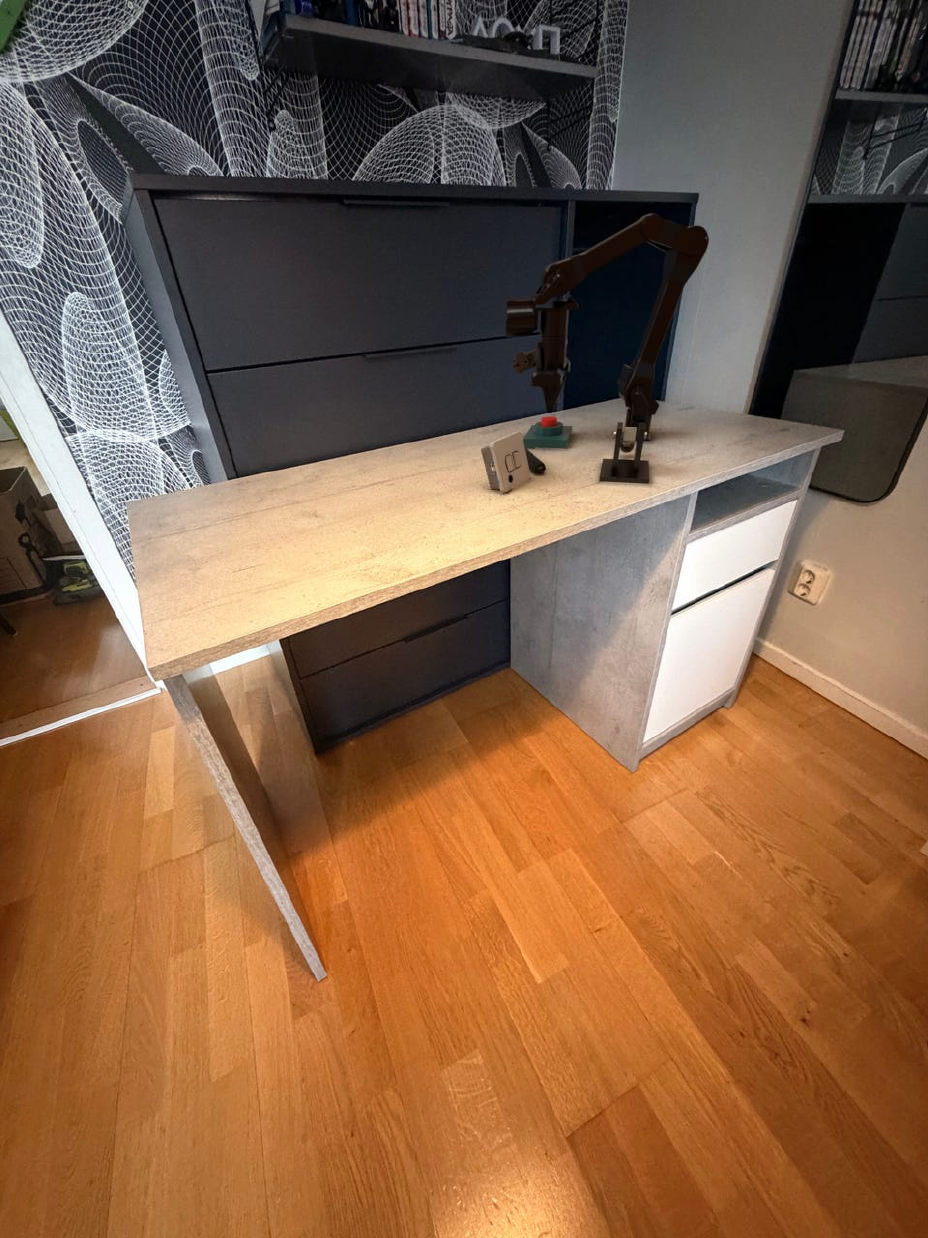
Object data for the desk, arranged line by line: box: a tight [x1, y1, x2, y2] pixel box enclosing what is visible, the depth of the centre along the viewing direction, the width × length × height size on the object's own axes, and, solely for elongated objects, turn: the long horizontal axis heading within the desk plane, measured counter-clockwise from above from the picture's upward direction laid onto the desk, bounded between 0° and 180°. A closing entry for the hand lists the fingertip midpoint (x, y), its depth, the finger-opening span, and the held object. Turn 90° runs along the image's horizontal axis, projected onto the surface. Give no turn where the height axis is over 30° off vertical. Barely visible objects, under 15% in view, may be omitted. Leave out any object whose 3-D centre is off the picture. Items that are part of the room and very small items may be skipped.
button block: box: [522, 420, 573, 450], centre depth 116 cm, size 12×10×4 cm
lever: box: [620, 426, 637, 454], centre depth 98 cm, size 14×3×3 cm, turn 164°
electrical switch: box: [480, 431, 531, 494], centre depth 94 cm, size 9×5×9 cm, turn 141°
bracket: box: [599, 421, 650, 485], centre depth 94 cm, size 11×9×9 cm
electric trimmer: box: [524, 447, 547, 473], centre depth 103 cm, size 4×16×3 cm, turn 16°
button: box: [540, 416, 558, 427], centre depth 114 cm, size 4×4×2 cm
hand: (549, 412), depth 113 cm, fingers closed
